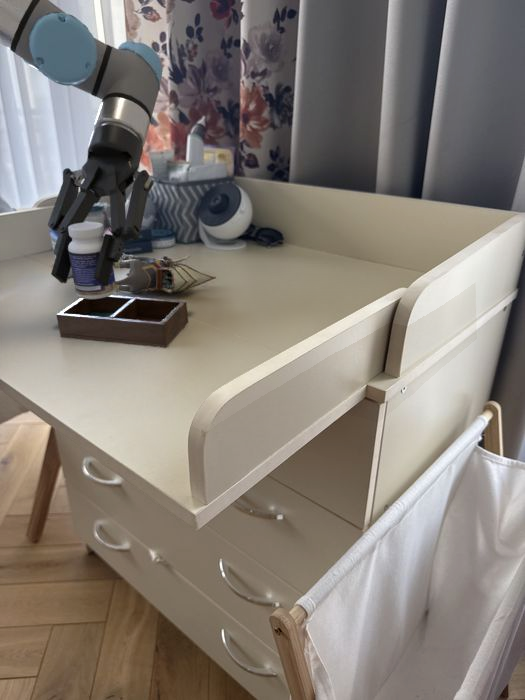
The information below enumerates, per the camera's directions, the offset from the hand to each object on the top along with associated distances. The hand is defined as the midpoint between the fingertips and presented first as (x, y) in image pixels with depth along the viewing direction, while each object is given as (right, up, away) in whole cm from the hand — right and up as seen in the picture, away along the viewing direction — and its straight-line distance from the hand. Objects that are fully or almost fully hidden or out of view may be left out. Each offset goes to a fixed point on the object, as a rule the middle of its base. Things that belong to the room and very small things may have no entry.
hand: (79, 279), depth 75 cm
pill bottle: (+1, -2, +5) cm, 5 cm away
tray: (+5, -7, +6) cm, 10 cm away
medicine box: (-10, +6, +31) cm, 33 cm away
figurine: (+8, +1, +21) cm, 23 cm away
